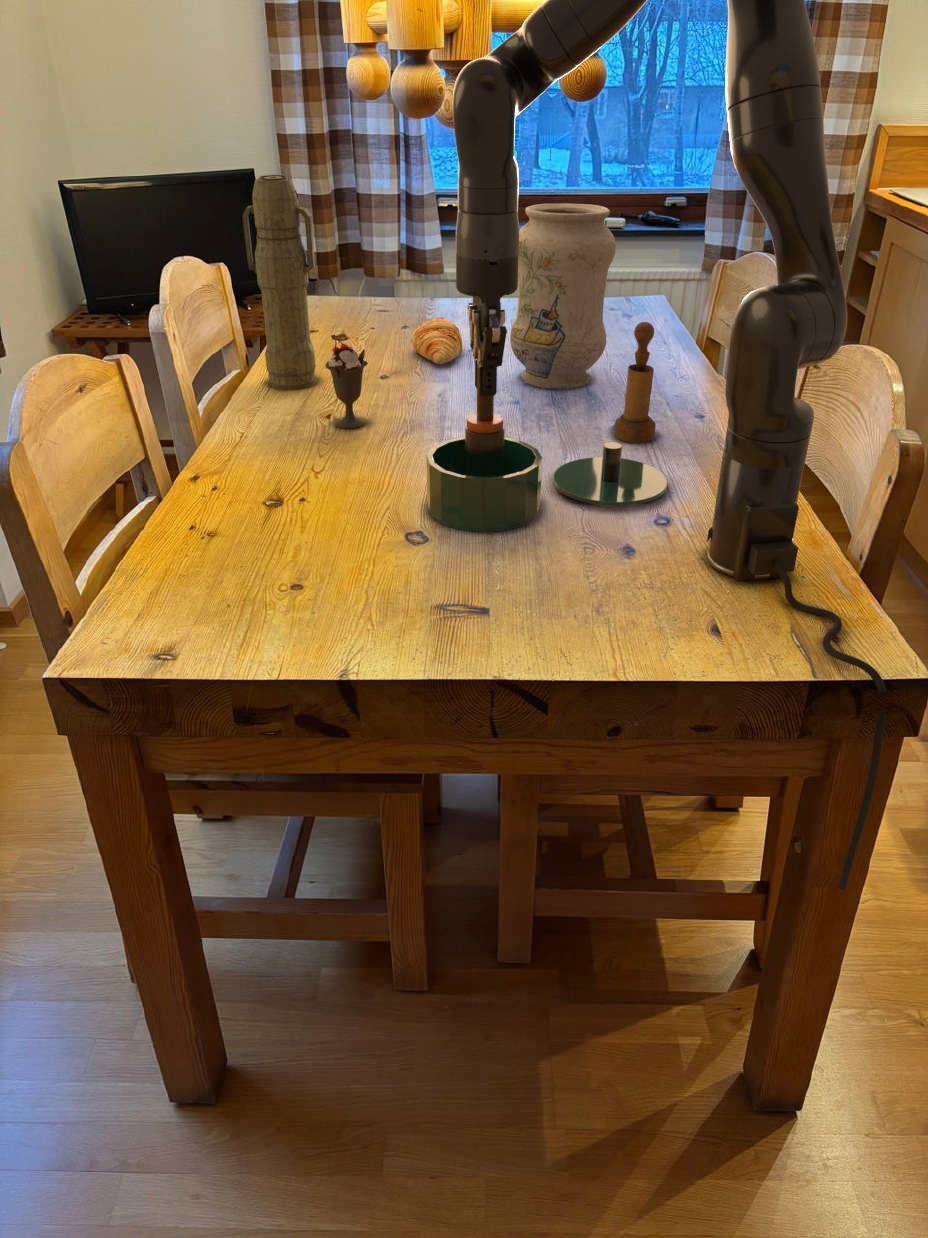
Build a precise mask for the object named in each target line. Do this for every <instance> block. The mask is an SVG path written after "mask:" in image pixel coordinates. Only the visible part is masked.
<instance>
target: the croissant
mask: <svg viewBox="0 0 928 1238" xmlns="http://www.w3.org/2000/svg"><path fill="white" fill-rule="evenodd" d="M410 342H411V346H412V347H413V348H414V350H415V351H416V353H418V354H419V355H420V356H422V357H424V358H426V359H427V360H429V361H431V362H433V363H434V364H437V365H443V364H447V363H450V362H451V361H453V360H454V359H456V358H457V357H458V356H459V355H461V354H462V353H463V338H462V335H461V331H460V329H459V327H458V326H457V325H456V324H455V323H454V322H453V321H451V320H448V319H446V318H444V317H435V318H431V319H428V320H425V321H424V322H422V323H421V324H420V325H419V326H418V327H416V328H415V330H414V331H413V333H412V334H411V337H410Z"/></svg>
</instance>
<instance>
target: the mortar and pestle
mask: <svg viewBox="0 0 928 1238" xmlns="http://www.w3.org/2000/svg"><path fill="white" fill-rule="evenodd" d="M633 335H634V338H635V340H636V343H637V345H638V346H637V348H636V349H637V350H636V351H634V358H635V363H634V364H631V365H629V366H628V367H627V377H626V378H627V379H626V388H625V389H626V390H625V399H624V406H623V407H624V408H623V413H622V414H621V415H620V416H618V417H617V418H616V419H615V421H614V429H613V435H614V437H615V438H617V439H618V440H620V441H624V442H627V443H637V444H640V443H641V444H642V443H647V442H649V441H652V440H653V439H654V438H655V434H656V424H657V423H656V421H655V420H654V419H653V418H652V416H650V415H649V413H650V405H651V404H650V403H651V396H652V389H653V379H654V371H655V368H654V367H653V366H651V365H649V364H648V361H649V359H650V355H651V352H650V351H649V350H648V346H649V344H650V342H651V341H652V339H653V337H654V336H655V328H654V326H653V324H652V323H651V322H648V321H641V322H638V324H637V325H636V326H635V327H634V330H633Z"/></svg>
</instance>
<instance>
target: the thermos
mask: <svg viewBox="0 0 928 1238" xmlns="http://www.w3.org/2000/svg"><path fill="white" fill-rule="evenodd" d="M250 214H251V215H252V214H253V217H254V226H255V229H256V234H257V235H256V238H255V239H256V246H255V251H254V256H253V246H252V240H251V239H252V238H251V227H250V220H249V219H250V218H249V215H250ZM300 214H301V215H302V217H303V218H304V225H305V238H306V249H305V246H304V243H303V240H302V234H301V232H300V231H301V230H300V226H301V217H300ZM241 217H242V226H243V233H244V243H245V252H246V253H245V254H246V260H247V265H248V270H249V271H254V274H256V280H257V285H258V287H259V289H260V292H261V300H262V311H263V319H264V328H265V337H266V347H265V352H264V357H265V367H266V371H267V372H268V384H269V386H270V387H272V388H273V389H274V388H275V389H280V390H300V389H301V390H302V389H305V388H309V387H311V386H314V385H315V384H316V383H317V377H316V367H317V365H316V354H315V351H316V350H315V349H314V344H313V342H312V340H311V330H310V329H311V328H310V317H309V306H308V305H309V304H308V292H307V289H308V285H309V272H311V271H312V270H313V269H314V267H315V266H316V259H315V245H314V244H315V243H314V223H313V220H314V219H313V215H312V214H311V212H310V211H309V209H308V208H307V207H304V206H301V205H300V204H299V195H298V192H297V189H296V187H295V184H294V181H293V179H292V178H291V177H288V175H283V174H267V175H260V176H259V177H258V178H255V180H254V185H253V189H252V205H248V206H246V207H245V209H244V211H243V213H242V215H241ZM306 250H307V251H306ZM254 260H255V263H254Z"/></svg>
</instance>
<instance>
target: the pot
mask: <svg viewBox="0 0 928 1238" xmlns="http://www.w3.org/2000/svg"><path fill="white" fill-rule="evenodd" d="M425 459H426V498H427V500H426V501H427V507H428V508H427V509H428V512H429V514H430V516H431V517H432V518H433V519H434V520H435V521H437V522H438V523H440V524H442V525H444V526H446V527H449V528H452V529H456V530H460V531H466V532H474V533H491V532H492V533H496V532H503V531H510V530H514V529H516V528H517V529H518V528H520V527H522V526H525V525H527V524H529V523H530V522H532V521H533V520H534V519H535V518H536V517H537V516H538V515H539V512H540V507H541V499H542V498H541V496H542V477H543V475H542V473H543V456H542V454H541V453H540V451H539V449H538V448H536V447H535V446H532V445H531V444H529V443H527V442H525V441H523V440H518V439H514V438H510V437H504V451H503V452H501V453H499V454H497V455H492V456H478V455H473V454H470V453H468V452H467V451H466V450H465V436H461V437H457V438H453V439H447V440H445V441H443V442H440V443H438V444H437V445H434V446H432V447H431V449H430V450H429V452H428V453H427V455H426V457H425Z"/></svg>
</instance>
